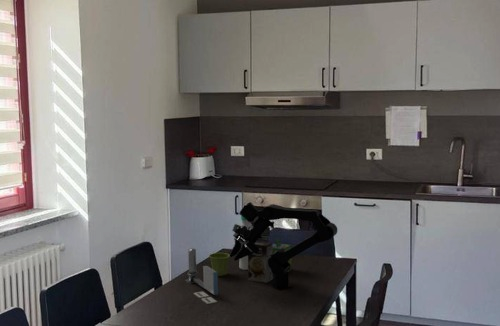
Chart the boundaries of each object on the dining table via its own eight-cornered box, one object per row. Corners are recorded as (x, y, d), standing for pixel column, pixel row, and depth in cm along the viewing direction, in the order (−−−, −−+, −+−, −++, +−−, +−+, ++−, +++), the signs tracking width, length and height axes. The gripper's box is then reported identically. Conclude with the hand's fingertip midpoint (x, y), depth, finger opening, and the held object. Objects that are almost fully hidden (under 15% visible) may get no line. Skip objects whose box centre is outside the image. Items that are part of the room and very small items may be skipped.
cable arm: (193, 281, 265) (192, 259, 264) (196, 280, 265) (196, 259, 264) (214, 295, 245) (213, 272, 244) (217, 295, 246) (217, 272, 245)
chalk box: (285, 274, 276) (285, 241, 274) (266, 272, 280) (265, 240, 278) (292, 269, 284) (292, 237, 283) (274, 267, 288) (273, 235, 287)
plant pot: (231, 271, 282) (231, 252, 281) (228, 277, 272) (228, 258, 271) (211, 271, 283) (210, 252, 282) (207, 277, 273) (207, 258, 272)
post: (200, 282, 266) (199, 250, 265) (189, 283, 264) (188, 251, 263) (196, 279, 271) (195, 247, 269) (185, 280, 268) (184, 248, 267)
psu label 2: (216, 302, 240) (216, 301, 240) (207, 304, 238) (207, 302, 238) (210, 297, 245) (210, 296, 245) (201, 299, 243) (201, 298, 243)
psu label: (208, 296, 247) (208, 295, 247) (199, 298, 245) (199, 296, 245) (202, 292, 252) (202, 291, 252) (193, 293, 251) (193, 292, 250)
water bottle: (252, 270, 283) (252, 216, 280) (237, 269, 284) (236, 215, 281) (255, 266, 290) (255, 213, 287) (241, 265, 291) (240, 213, 288)
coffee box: (247, 280, 268) (247, 243, 266) (254, 276, 274) (254, 240, 272) (266, 283, 264) (266, 245, 262) (273, 279, 269) (272, 242, 268)
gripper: (237, 213, 265) (212, 240, 263) (251, 221, 247) (225, 251, 245) (255, 229, 268) (230, 257, 266) (270, 239, 251) (244, 268, 248)
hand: (232, 258), depth 256 cm, fingers open, 6 cm apart
